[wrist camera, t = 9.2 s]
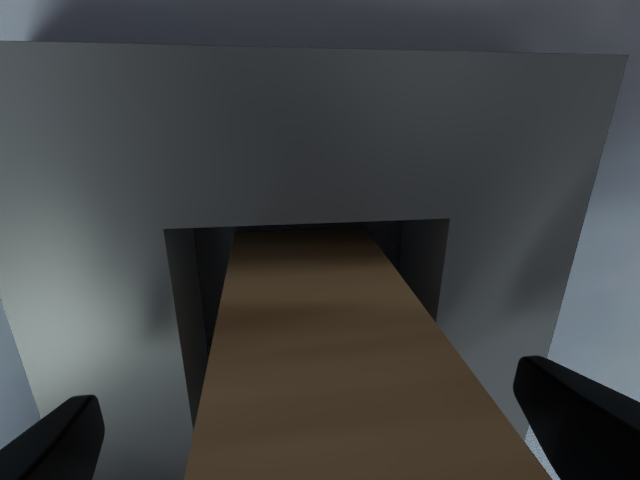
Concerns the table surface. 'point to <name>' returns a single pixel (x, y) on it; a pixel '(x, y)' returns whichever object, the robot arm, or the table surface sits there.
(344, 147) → the socket block
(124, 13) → the table surface
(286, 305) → the peg
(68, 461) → the robot arm
